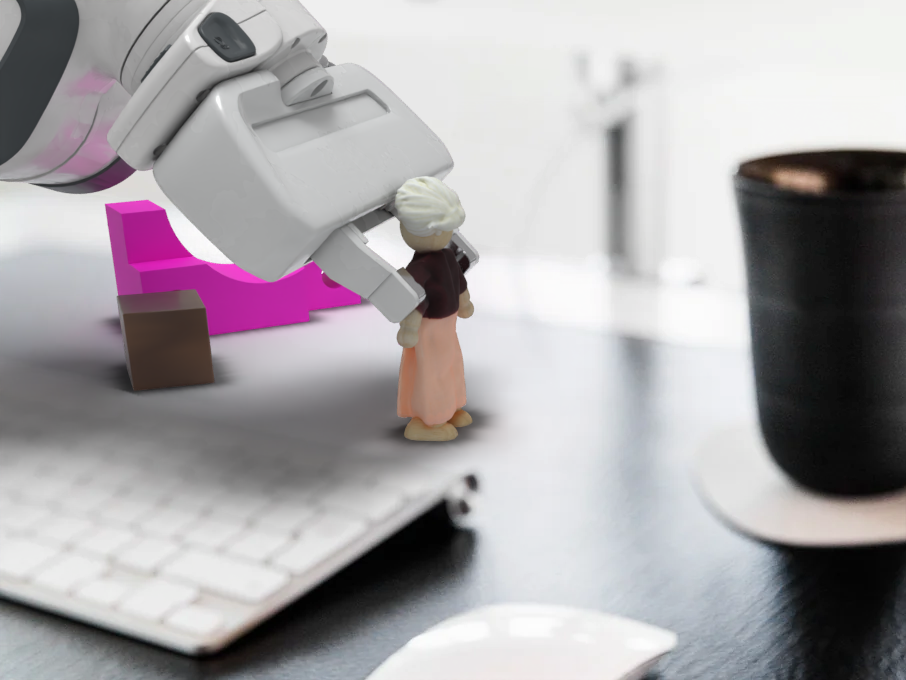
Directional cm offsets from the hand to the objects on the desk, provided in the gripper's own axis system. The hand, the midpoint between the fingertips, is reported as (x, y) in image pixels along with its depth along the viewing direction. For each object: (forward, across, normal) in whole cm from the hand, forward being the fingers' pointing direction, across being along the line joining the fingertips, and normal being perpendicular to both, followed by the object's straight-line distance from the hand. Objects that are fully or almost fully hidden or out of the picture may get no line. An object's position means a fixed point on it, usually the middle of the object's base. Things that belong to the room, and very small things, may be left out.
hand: (441, 290), depth 69 cm
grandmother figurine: (+5, 0, -6) cm, 8 cm away
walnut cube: (-8, -5, -18) cm, 21 cm away
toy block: (-9, -18, -19) cm, 28 cm away
